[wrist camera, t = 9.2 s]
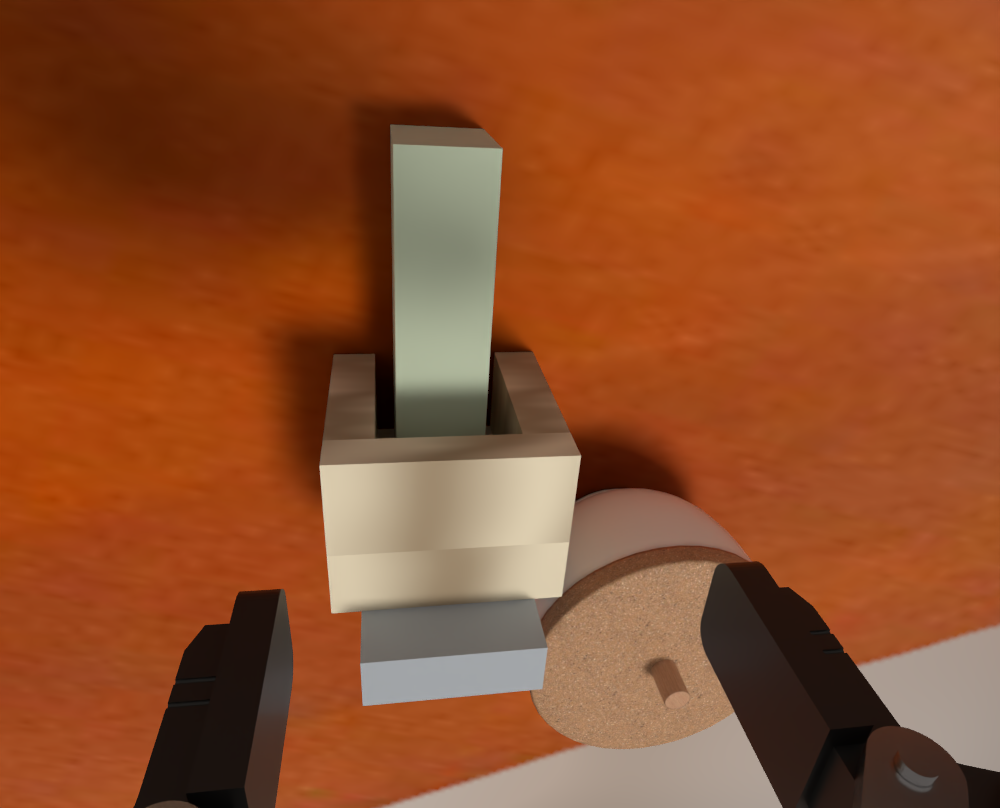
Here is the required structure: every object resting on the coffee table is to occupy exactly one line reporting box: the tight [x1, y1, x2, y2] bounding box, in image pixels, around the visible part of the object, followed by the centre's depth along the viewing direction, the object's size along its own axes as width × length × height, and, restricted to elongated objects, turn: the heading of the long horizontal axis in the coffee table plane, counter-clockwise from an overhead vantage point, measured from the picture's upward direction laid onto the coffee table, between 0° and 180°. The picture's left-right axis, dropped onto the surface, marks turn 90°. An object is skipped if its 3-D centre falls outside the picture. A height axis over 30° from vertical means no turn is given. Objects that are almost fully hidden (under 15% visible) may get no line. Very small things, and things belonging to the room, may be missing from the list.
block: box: [319, 352, 581, 613], centre depth 26 cm, size 8×6×8 cm
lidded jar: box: [530, 488, 752, 749], centre depth 30 cm, size 11×11×9 cm
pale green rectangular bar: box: [390, 125, 503, 438], centre depth 25 cm, size 3×12×4 cm, turn 176°
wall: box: [360, 599, 548, 706], centre depth 27 cm, size 6×2×10 cm, turn 87°
